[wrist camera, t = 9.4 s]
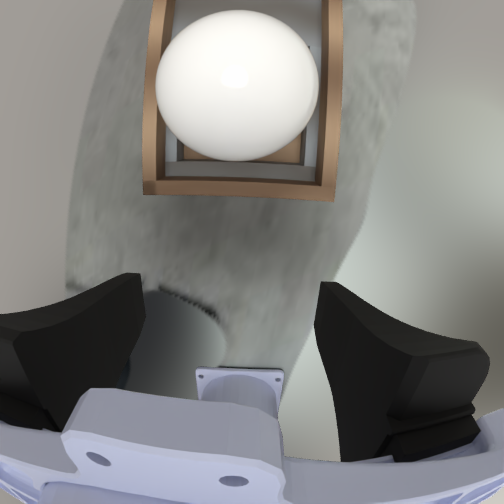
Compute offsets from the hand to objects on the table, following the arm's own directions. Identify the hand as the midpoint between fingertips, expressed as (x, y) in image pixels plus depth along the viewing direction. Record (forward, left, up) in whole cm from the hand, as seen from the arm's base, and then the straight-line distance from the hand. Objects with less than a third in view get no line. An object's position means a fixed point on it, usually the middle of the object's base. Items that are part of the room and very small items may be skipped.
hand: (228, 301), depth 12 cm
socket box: (+10, 0, -10) cm, 14 cm away
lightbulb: (+8, 0, -10) cm, 13 cm away
